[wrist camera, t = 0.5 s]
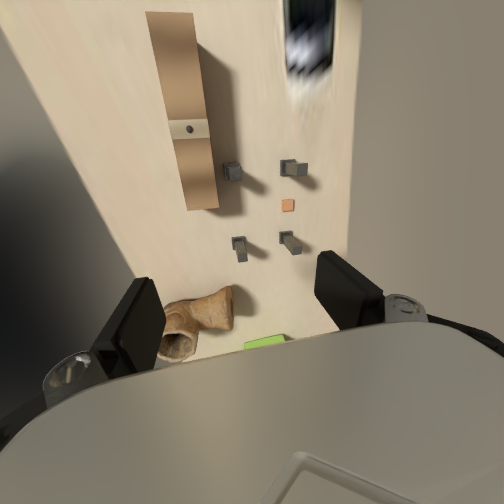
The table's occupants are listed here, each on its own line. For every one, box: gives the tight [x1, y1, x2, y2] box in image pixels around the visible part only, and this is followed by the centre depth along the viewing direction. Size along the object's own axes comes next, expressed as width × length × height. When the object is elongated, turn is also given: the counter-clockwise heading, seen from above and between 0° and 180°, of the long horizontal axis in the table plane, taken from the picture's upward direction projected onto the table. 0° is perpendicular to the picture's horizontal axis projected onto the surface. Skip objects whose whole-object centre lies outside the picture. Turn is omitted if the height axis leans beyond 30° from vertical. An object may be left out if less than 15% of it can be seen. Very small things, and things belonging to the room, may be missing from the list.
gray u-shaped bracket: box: [224, 159, 308, 181], centre depth 30 cm, size 2×12×6 cm, turn 93°
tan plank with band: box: [145, 12, 219, 211], centre depth 27 cm, size 20×5×6 cm, turn 3°
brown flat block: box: [282, 199, 293, 211], centre depth 36 cm, size 2×2×1 cm
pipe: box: [157, 286, 234, 362], centre depth 38 cm, size 9×16×10 cm, turn 104°
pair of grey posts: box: [232, 231, 302, 263], centre depth 36 cm, size 2×12×6 cm, turn 93°
